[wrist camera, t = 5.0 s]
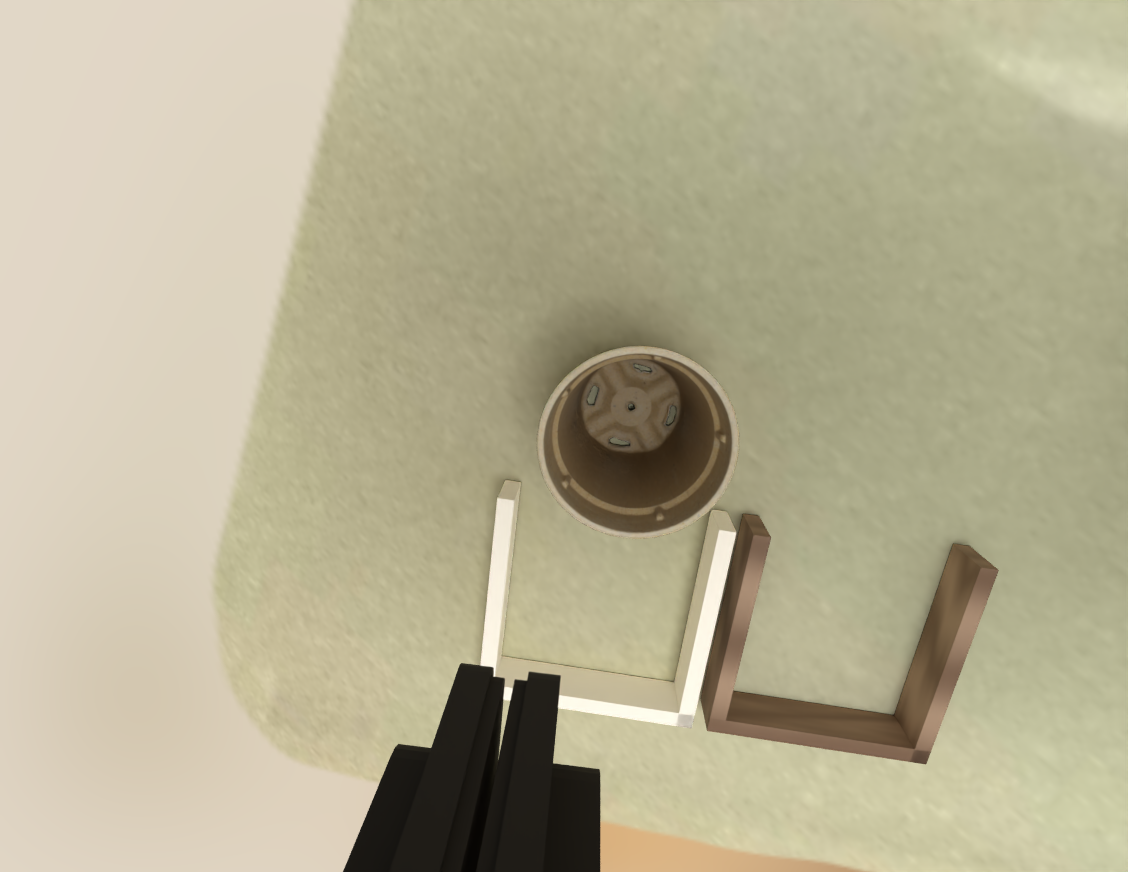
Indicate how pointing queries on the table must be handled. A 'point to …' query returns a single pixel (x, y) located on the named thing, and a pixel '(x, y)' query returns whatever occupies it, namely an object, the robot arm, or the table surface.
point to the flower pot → (638, 443)
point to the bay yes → (606, 688)
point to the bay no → (838, 726)
